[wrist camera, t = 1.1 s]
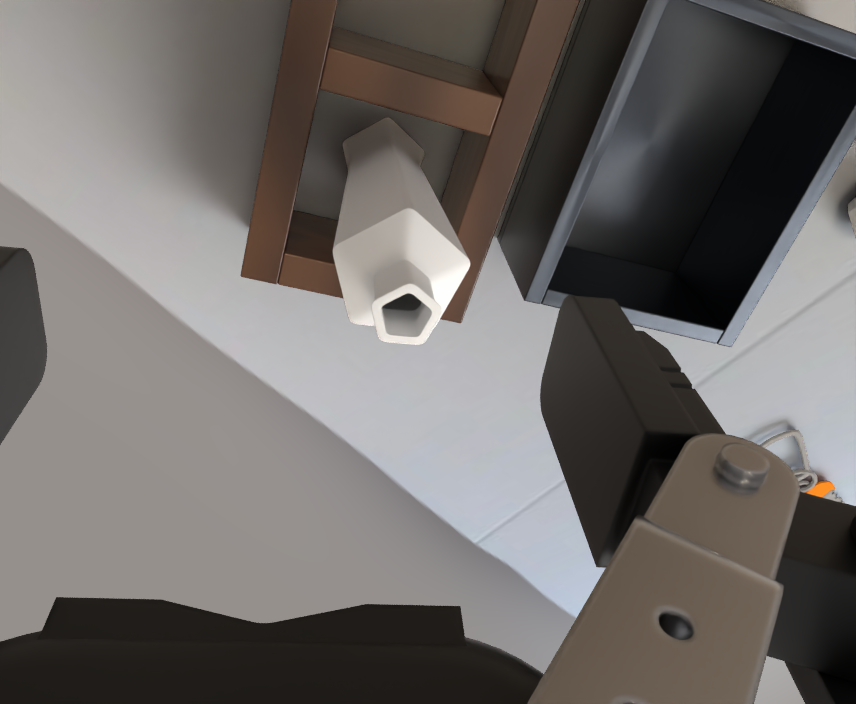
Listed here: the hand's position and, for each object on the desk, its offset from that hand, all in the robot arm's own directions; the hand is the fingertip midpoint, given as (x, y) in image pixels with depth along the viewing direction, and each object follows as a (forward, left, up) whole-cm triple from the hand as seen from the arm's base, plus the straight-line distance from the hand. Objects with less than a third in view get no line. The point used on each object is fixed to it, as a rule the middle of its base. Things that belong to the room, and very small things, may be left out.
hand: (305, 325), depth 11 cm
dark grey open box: (+16, 0, -24) cm, 29 cm away
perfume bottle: (+3, -4, -25) cm, 25 cm away
